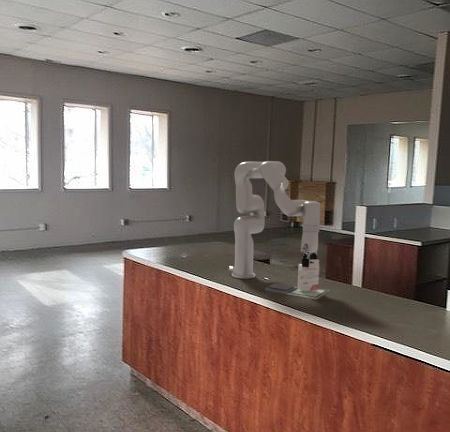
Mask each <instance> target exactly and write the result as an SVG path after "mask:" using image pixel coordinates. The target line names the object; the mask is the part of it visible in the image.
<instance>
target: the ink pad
mask: <svg viewBox="0 0 450 432" xmlns="http://www.w3.org/2000/svg"><path fill="white" fill-rule="evenodd" d="M296 288H297V287H296V286H293V285H288V284H285V283H283V284H282V283H276V282H274V283H273V284H271V285H268V286H266V287H265V291H267V292H271V293H277V294H282V295H283V294H284V295H287V293H288V292H290V291H292V290H294V289H296Z"/></svg>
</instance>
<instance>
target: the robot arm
mask: <svg viewBox="0 0 450 432" xmlns="http://www.w3.org/2000/svg"><path fill="white" fill-rule="evenodd" d="M286 172H287V167H286V166H285V164H284V163H283V162H281V161H276V160H274V161H273V160H267V161H249V160H248V161H244V162H241V163H239V164H238V165H237V166H236V168H235V170H234V181H235V182H234V183H235V204H236V205H235V206H236V210H237V212H238V213H240V214H249V215H244V216H243V215H241V216H239V217H237V218H236V219H235V220H234V222H233V232H234V240H235V241H234V242H235V244H234V266H231V265H230V266H229V267H228V271H232V273H231V277H232V278H235V279H245V280H246V279H248V280H249V279H253V278H255V277H256V275H257V274H256V273H255V272H254V239H253V236H252V235H253V234H259V233H261V232H263V230H264V228H265V223H266V222H265V202H264V199H263V198H262V197H261V196H260V195H258V194H253V185H252V182H251V181H250V179H264V180H265V182H266V183H267V184H268V186H269V187H270V189H272V190H273V198H274V201H275V204H276V205H277V207H278V208H279V209H280V211H281V212H282V213H283V214H284V215H286V216H287V217H301V216H302V236H301V241H300V243H301V244H300V253H301V264H302V267H309V264H310V263H314V262H309V260H313V259H314V260H316V259H318V249H319V233H320V223H321V221H320V219H321V203H320V202H319V201H315V200H314V201H313V200H310V201H309V200H306V199H291V197H289V195H288V194H287V193H286V190H287V188H289V183H290V181H289V180H288V179H287V177H286V176H285V175H286Z"/></svg>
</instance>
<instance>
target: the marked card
mask: <svg viewBox="0 0 450 432" xmlns="http://www.w3.org/2000/svg"><path fill="white" fill-rule="evenodd" d="M328 292H330V290H329V289H325V288H323V289H322V288H318V290H311V291H301V290H299V289H298V288H297V287H296V289H294V290H292V291H290V292H288V293H287V294H286V295H289V296H294V297H300V298H306V299H311V300H318V299H319V298H321V297H322V296H324V295H325V294H327V293H328Z"/></svg>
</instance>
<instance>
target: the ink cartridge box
mask: <svg viewBox="0 0 450 432" xmlns="http://www.w3.org/2000/svg"><path fill="white" fill-rule="evenodd" d="M310 262H314V263H310ZM319 277H320V259H318V258H317V259H316V260H314V259H313V260H310V259H309V267H302V263H298V268H297V287H296V288H298V289H299V290H301V291H311V290H318V289H319V281H320V280H319Z"/></svg>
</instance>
